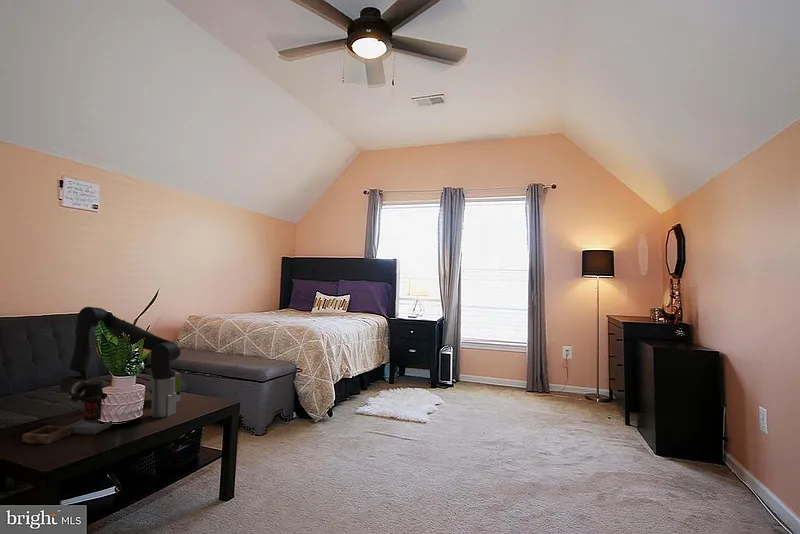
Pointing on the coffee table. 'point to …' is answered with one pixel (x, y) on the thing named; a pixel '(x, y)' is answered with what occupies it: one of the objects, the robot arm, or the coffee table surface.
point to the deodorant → (93, 400)
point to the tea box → (177, 385)
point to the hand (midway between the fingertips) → (95, 398)
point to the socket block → (46, 434)
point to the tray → (89, 427)
